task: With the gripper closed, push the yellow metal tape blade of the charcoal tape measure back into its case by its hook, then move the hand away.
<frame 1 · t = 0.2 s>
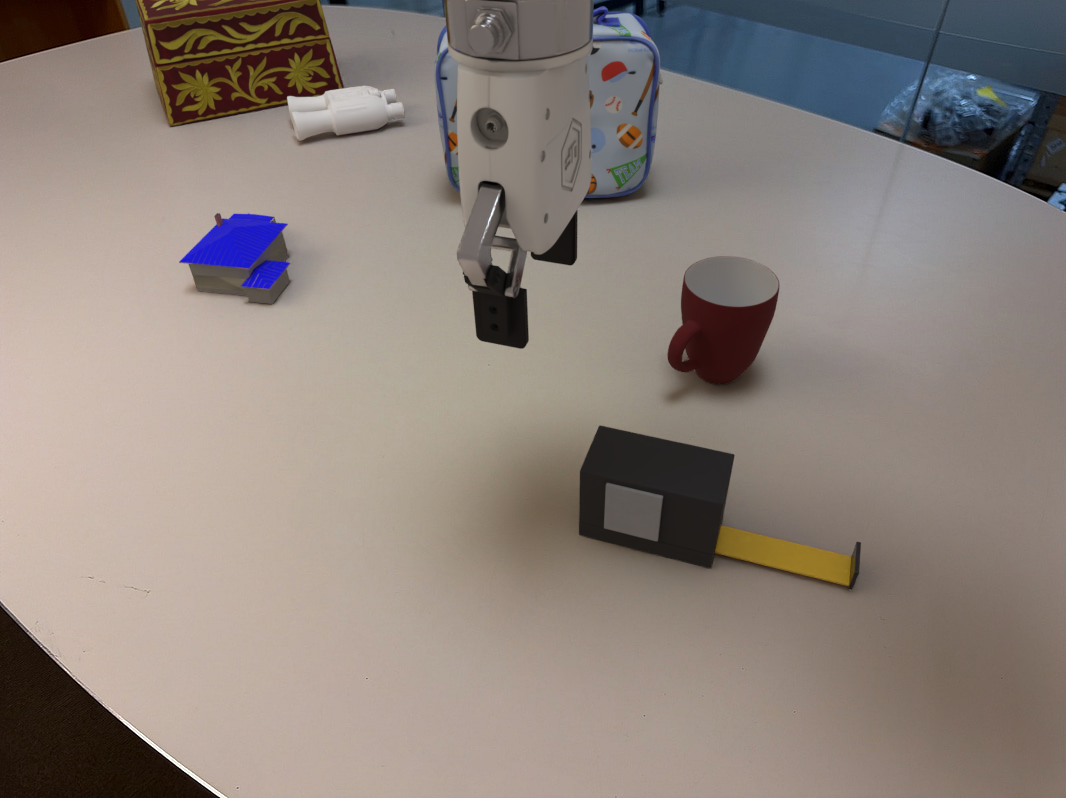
hand: (529, 298, 52), 19 cm above the table, tool pointing down, fingers open, 9 cm apart
house: (243, 272, 91), on the table
tape case: (651, 526, 62), on the table
binoculars: (348, 126, 122), on the table
lunch box: (552, 189, 104), on the table
decorative box: (250, 92, 134), on the table
mug: (709, 379, 75), on the table
tape blade: (786, 549, 58), point 1 cm above the table, slide at 9.0 cm
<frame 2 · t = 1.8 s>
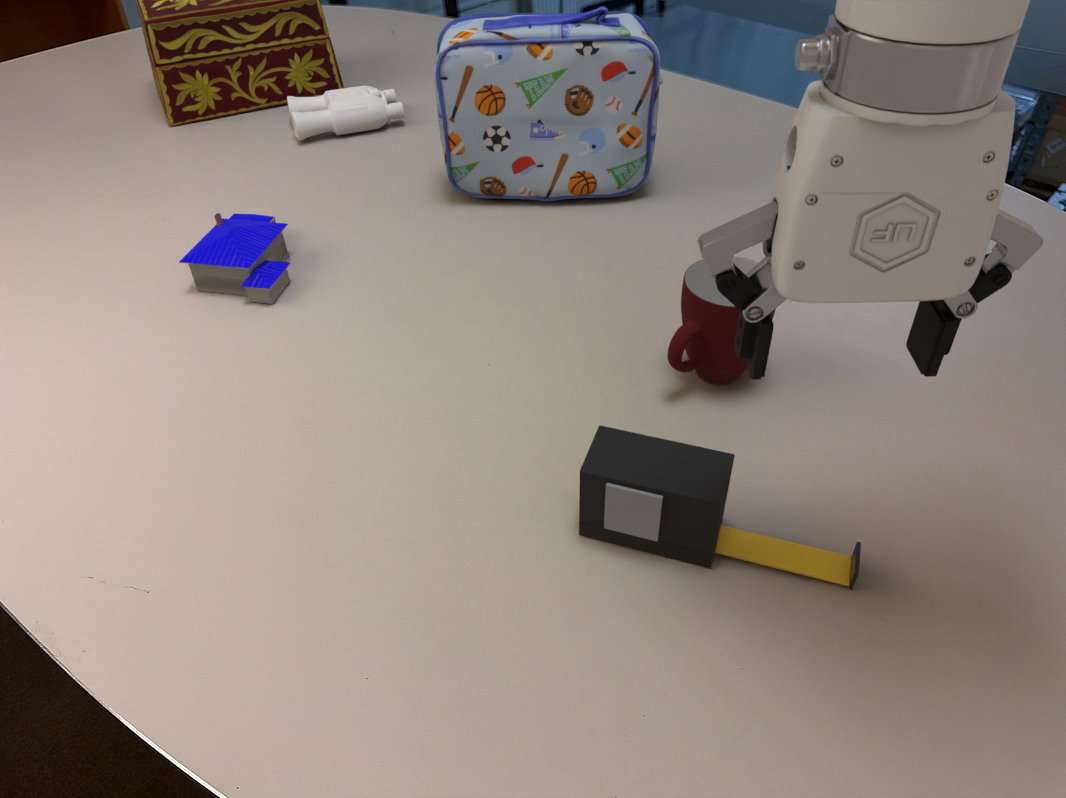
hand: (835, 363, 47), 18 cm above the table, tool pointing down, fingers open, 9 cm apart
nothing on the table moved.
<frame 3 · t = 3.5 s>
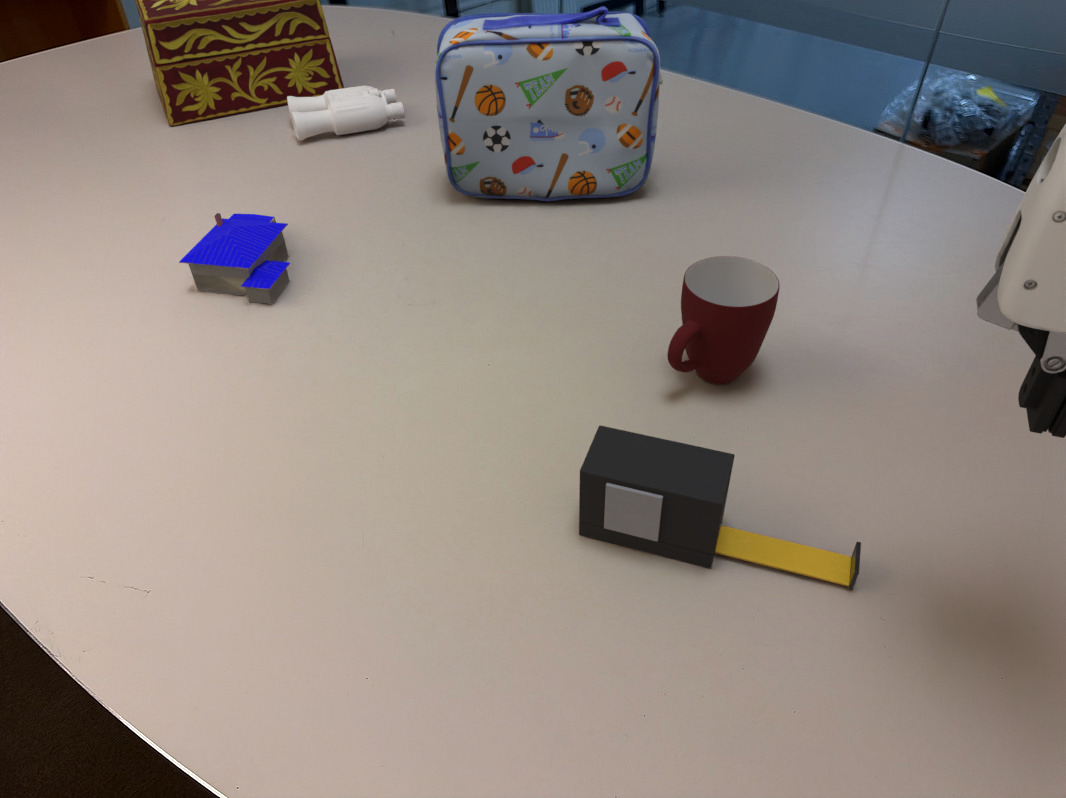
hand: (1043, 418, 45), 17 cm above the table, tool pointing down, fingers closed
nothing on the table moved.
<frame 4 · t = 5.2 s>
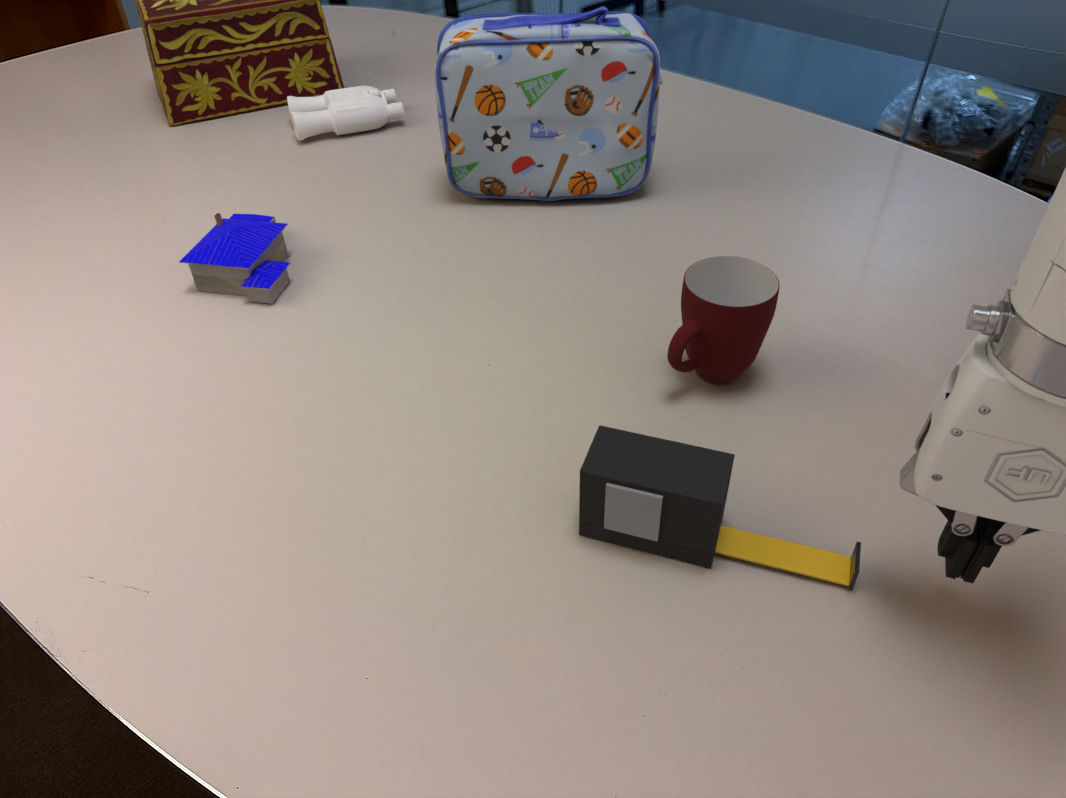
hand: (958, 563, 54), 4 cm above the table, tool pointing down, fingers closed
nothing on the table moved.
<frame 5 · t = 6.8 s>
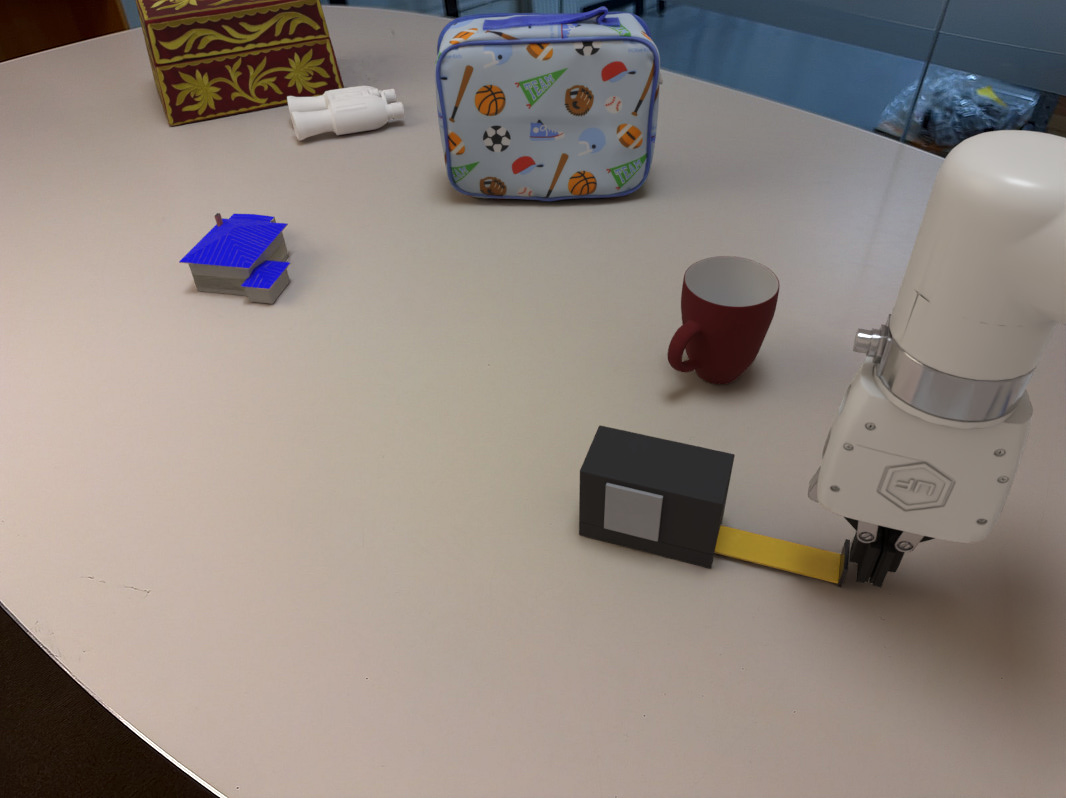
hand: (869, 568, 57), 1 cm above the table, tool pointing down, fingers closed
tape blade: (776, 546, 58), point 1 cm above the table, slide at 8.3 cm, touching gripper
everything else where it was.
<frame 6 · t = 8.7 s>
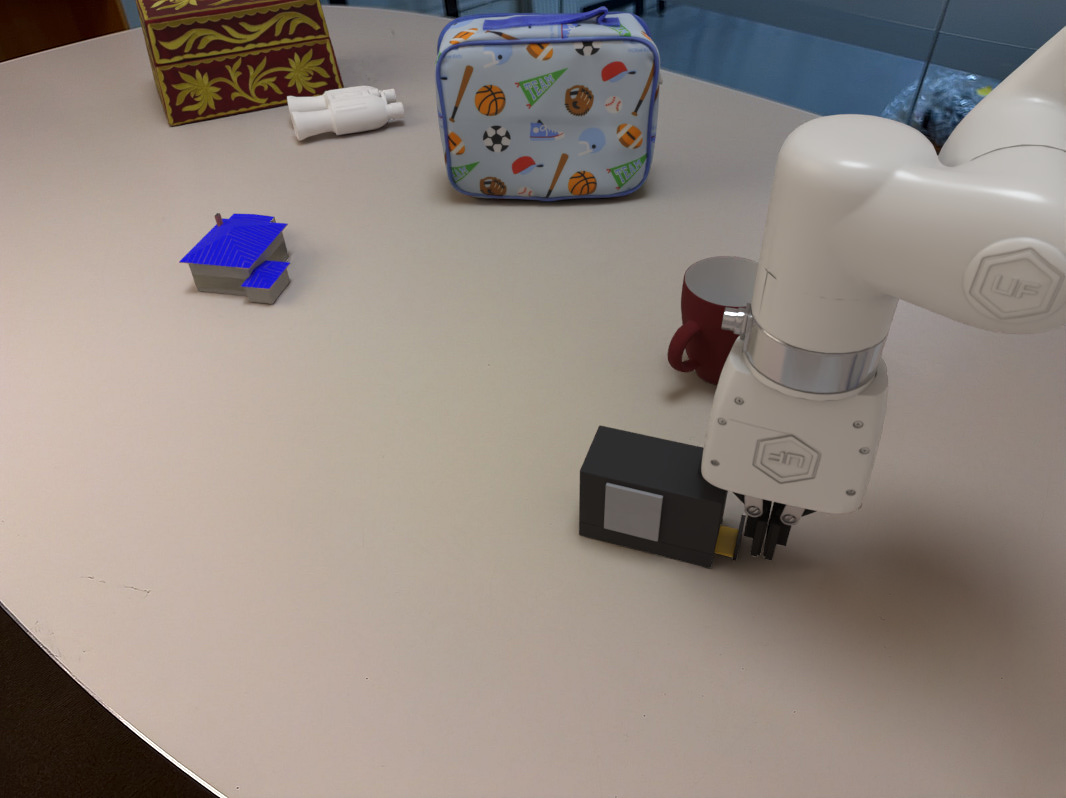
hand: (763, 543, 59), 1 cm above the table, tool pointing down, fingers closed
tape blade: (675, 522, 60), point 1 cm above the table, slide at 1.0 cm
everything else where it was.
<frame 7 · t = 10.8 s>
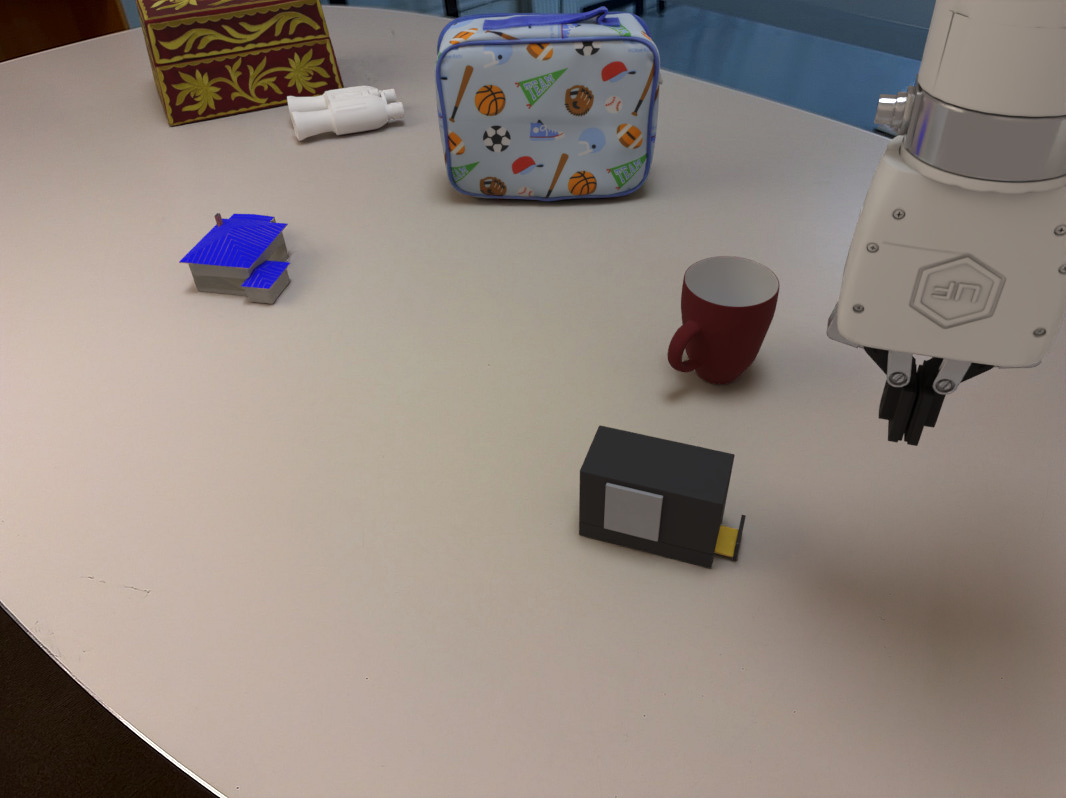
hand: (902, 427, 48), 14 cm above the table, tool pointing down, fingers closed
nothing on the table moved.
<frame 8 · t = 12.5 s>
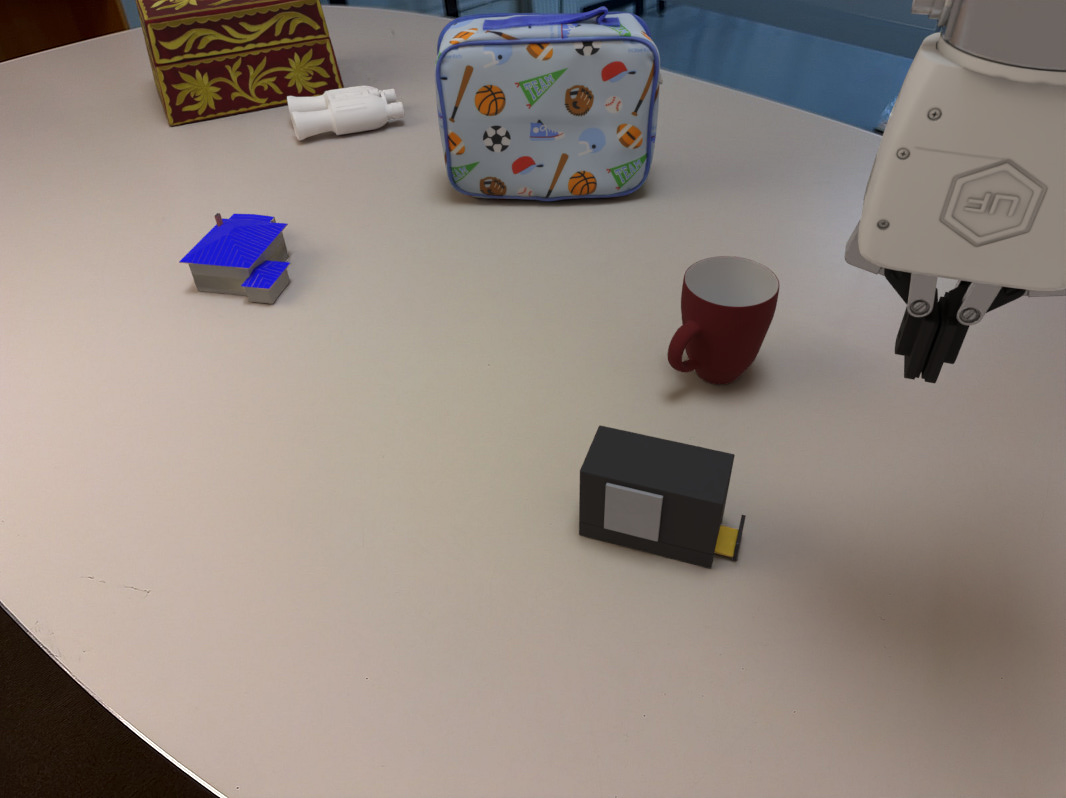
hand: (919, 365, 45), 19 cm above the table, tool pointing down, fingers closed
nothing on the table moved.
at the end: tape blade slide at 1.0 cm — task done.
